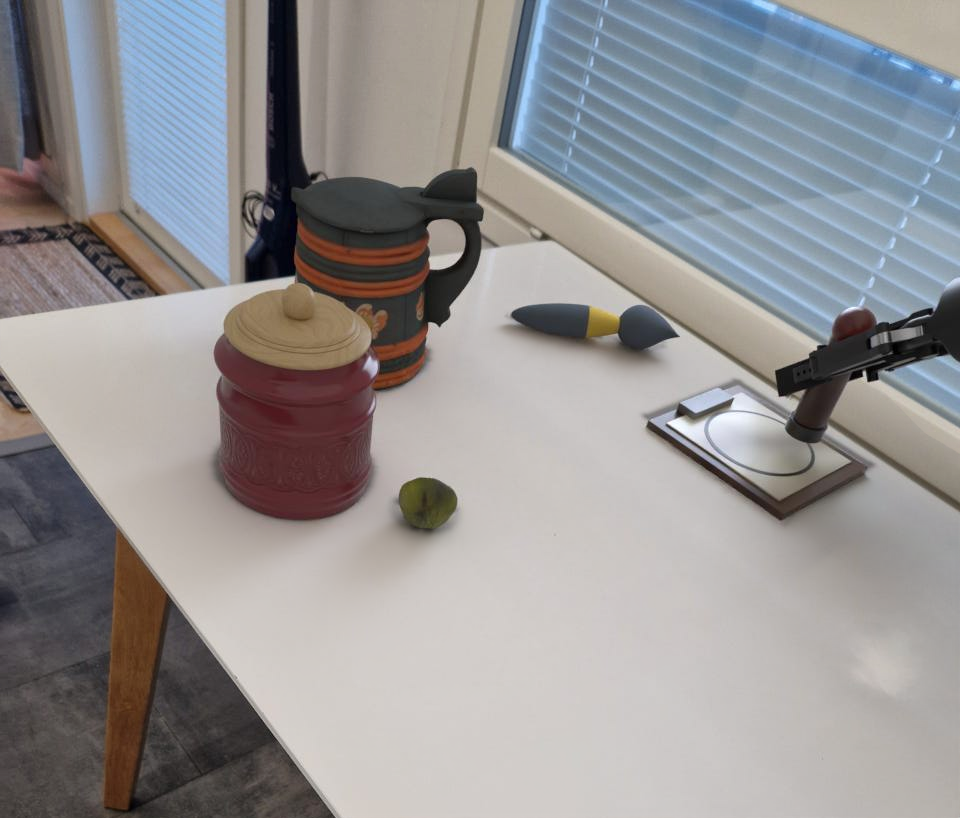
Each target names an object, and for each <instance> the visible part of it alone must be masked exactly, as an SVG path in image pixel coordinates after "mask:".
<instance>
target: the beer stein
mask: <svg viewBox="0 0 960 818" xmlns="http://www.w3.org/2000/svg"><path fill="white" fill-rule="evenodd" d="M477 193H478V172H477V170H476V169H475V168H474V167H472V166H470V167H468V168H459V169H458V168H455V169H450V170H446V171H443V172H442V173H440V174H438V175H436V176H435V177H433V178H432V179H431V180H430V181H429V182H428V183H427V185H426V186H425V187H421V186H402V187H400V186H397V185H396V184H393V183H389V182H387V181H382V180H378V179H374V178H370V177H364V176H343V177H335V178H328V179H324V180H319V181H317V182H314V183H312V184H309V185H308V186H306V187H305V188H304V189H303V188H299V187H296V186H294V187H292V188H291V190H290V196H291V197H290V198H291V201H292V202H294V203H295V204H296V206H295V213H296V215H297V216H298V217H297V231H296V239H295V246H294V254H293V255H294V256H293V260H294V265H295V274H294V283H302V284H305V285H307V286H309V287H310V288H311V289H312V290H313V292H317V293H321V294H324V295H327V296H329V297H332V298H334V299H336V300H338V301H339V302H341V303H342V304H344V305H345V306H346V307H347V308H349V309H350V310H352V311H354V312H355V313H356V314H358V315H359V316H360V317H361V318H362V319H363V320H364V321H365V322H366V323H367V325H368V326H369V328H370V331H371V344H370V345H371V346H372V347H373V348H374V350H375V351H376V353H377V355H378V358H379V362H380V369H379V374H378V376H377V378H376V380H375V381H374V383H373V384H372V387H373V389H374V390H377V389H386V388H390V387H393V386H397V385H402V384H403V383H405V382H408V381H409V380H411V379H412V378H414V377H415V376H416V375H417V374H418V373H419V372H420V370H421V368H422V366H423V364H424V362H425V360H426V357H427V356H426V355H427V354H426V353H427V352H426V351H427V350H426V349H427V348H426V344H427V335H428V332H429V324H430V323H432V324H435V325H436V326H437V327H438V328H439V329H441V327H442V325H443V324H444V323H446V322H447V321H448V320H450V317H451V315H452V313H451V309H450V307H451V306H452V305H453V304H454V302H455V301H456V300H457V299H458V298H459V296H460V295H461V294H462V293H463V291H464V290H465V289H466V287H467V286H468V284H470V282H471V279H472V278H473V276H474V274H475V272H476V270H477V269H478V265H479V262H480V259H481V255H482V248H483V247H482V245H483V244H482V243H483V241H482V239H483V238H482V232H481V226H480V223H482V222H483V221H484V214H485V213H484V212H485V209H484V207H483V206H482V205H481V204H480V203H478V195H477ZM440 220H449V221H452V222H455V223H456V224H457V225H459V227H460V228H461V230H462V232H463V234H464V239H465V240H464V241H465V242H464V248H463V252H462V254H461V256H460V257H459V259H458V260H457V261H456V262H454V264H452V265H450V266H447V267H445V268H441V269H440V268H439V269H434V268H433V269H431V263H430V260H429V259H430V256H431V250H430V246H429V245H428V244H429V241H430V238H431V237H430V236H431V235H430V233H429V230H428V226H429V225H430V224H431V223H432V222H434V221H440ZM294 283H293V284H294Z"/></svg>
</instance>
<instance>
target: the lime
mask: <svg viewBox="0 0 960 818" xmlns="http://www.w3.org/2000/svg"><path fill="white" fill-rule="evenodd" d="M458 501H459V499H458V495H457V494H456V492H455V490H454V489H453V488H452V487H451V485H448V484H447V483H445V482H444V481H441V480H440V479H437V478H434V477H423V476H422V477H421V476H420V477H416V478H414V479H412V480H408V481H406V482H405V483H403V484H402V485H401V487H400V489H399V493H398V506H399V508H400V511H401V513H402V515H403V518H404V519H405V520H406V521H407V522H409V524H411V525H412V526H414V527H416V528H419V529H435V528H438V527H440V526H442V525H444V524H445V523H447V521H449V519H451V517H452V515H453V514H454V512H455V511H456V509H457V506H458V503H459V502H458Z"/></svg>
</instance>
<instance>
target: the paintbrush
mask: <svg viewBox="0 0 960 818" xmlns="http://www.w3.org/2000/svg"><path fill="white" fill-rule="evenodd" d="M510 315H511V318H512V319H513V320H514V321H516V322H517V323H518V324H521V325H523V326H526V327H528V328H530V329H533V330H536V331H540V332H544V333H546V334H552V335H556V336H562V337H566V338H567V337H568V338H577V339H591V338H599V337H605V336H610V335H611V336H612V335H616V334H617V336H618V339H619V341H620V342H621V343H622V344H623V346H625V347H626V348H628V349H630V350H633V351H642V350H646V349H649V348H652V347H654V346H655V345H658V344H660V343H661V342H662V343H663V342H664V341H666V340H671V339H677V338H681V335H679V334H678V333H677V332H676V330H675V329H674V328H673V326H672V324H670V323H669V322H668V320H666V319H665V317H663V316H662V315H661V314H660V313H658V312H657V311H656V310H655V309H653V308H652V307H650V306H648V305H644V304H636V305H632V306H630V307H628V308H627V309H625V311H623V312H622V314H621V315H620V316H618V315H615V314H613V313H611V312H608V311H606V310H603V309H600V308H597V307H594V306H591V305H586V304H579V303H564V302H563V303H562V302H557V303H555V302H554V303H553V302H552V303H537V304H530V305H525V306H521V307H518V308H515V309H514V310H513V311H512V312H511V313H510Z"/></svg>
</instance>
